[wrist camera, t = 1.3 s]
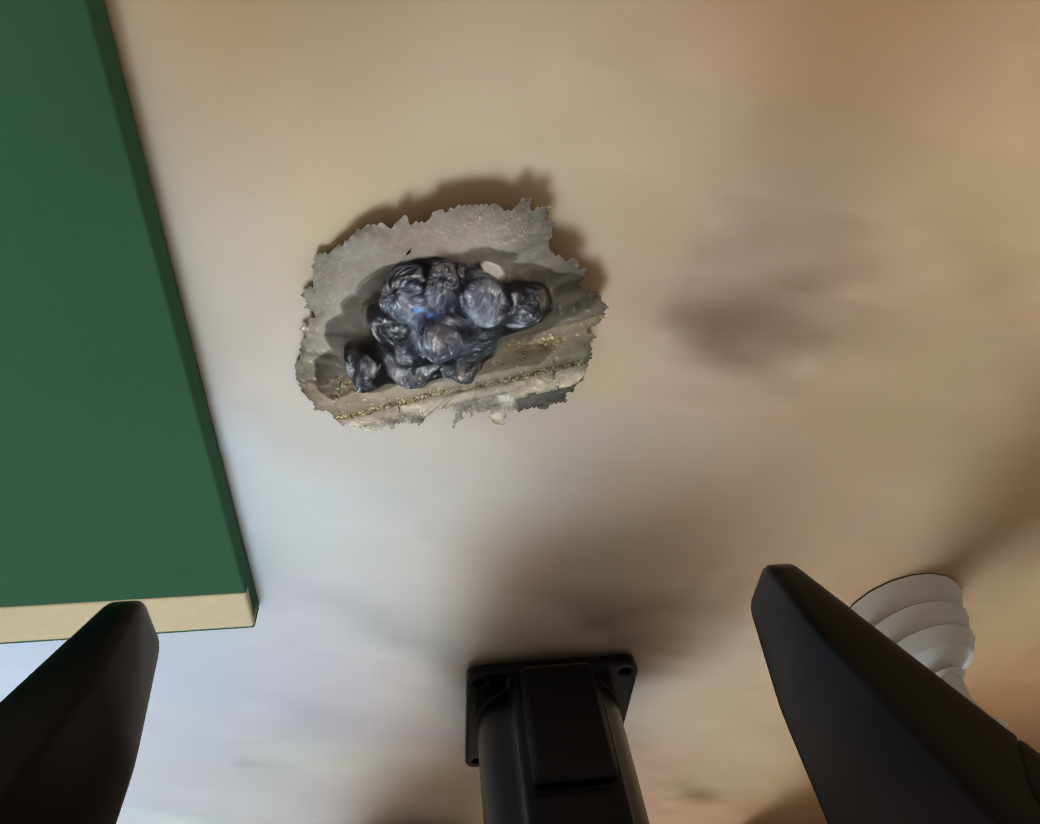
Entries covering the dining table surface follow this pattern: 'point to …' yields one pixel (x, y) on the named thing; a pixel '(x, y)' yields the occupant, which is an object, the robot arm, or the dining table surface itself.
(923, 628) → the chalice
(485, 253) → the blueberries
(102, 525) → the green flat rectangular block
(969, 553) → the dining table surface
